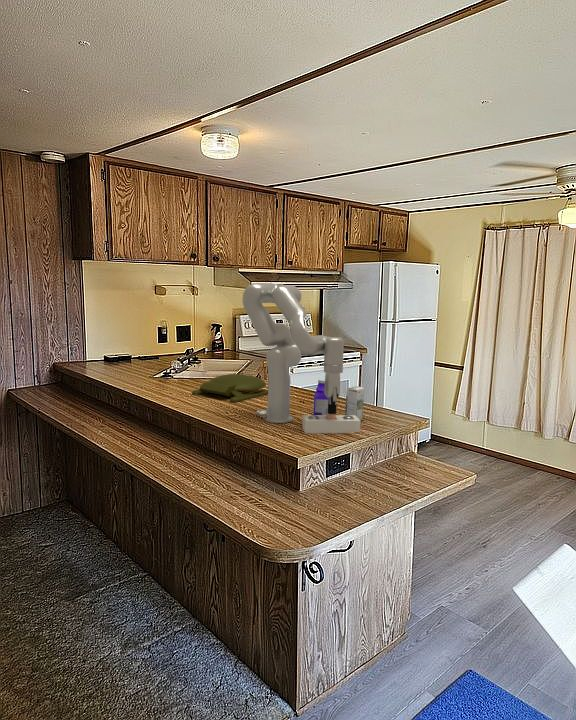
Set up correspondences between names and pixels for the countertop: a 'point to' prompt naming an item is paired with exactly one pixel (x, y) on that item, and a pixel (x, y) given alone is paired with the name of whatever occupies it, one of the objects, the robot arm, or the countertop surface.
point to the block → (330, 424)
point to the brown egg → (331, 416)
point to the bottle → (320, 399)
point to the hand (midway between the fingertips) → (331, 413)
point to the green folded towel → (233, 386)
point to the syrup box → (354, 401)
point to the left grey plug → (313, 417)
